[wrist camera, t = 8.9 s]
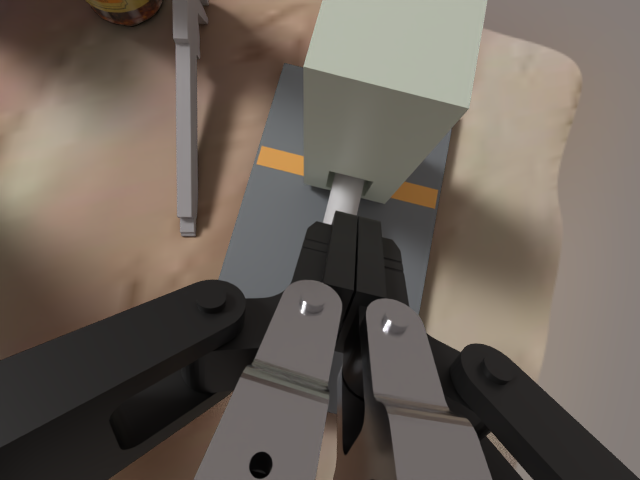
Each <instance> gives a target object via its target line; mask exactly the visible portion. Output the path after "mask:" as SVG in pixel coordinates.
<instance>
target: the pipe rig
mask: <svg viewBox="0 0 640 480" xmlns="http://www.w3.org/2000/svg"><path fill="white" fill-rule="evenodd" d="M451 130H452V128H451ZM451 130H450V131H449V132H448V133H447V134H446V135H445V136H444V137H443V139H442V140H441V141H440V142H439V143H438V144H437V145H436V147H435V148H434V149H433V150H432V151H431V152H430V153H429V154H428V156H427V157H426V158H425V159H424V160H423V161H422V162H421V164H420V165H419V166H418V167H417V168H416V169H415V170H414V171H413V173H412V174H411V175H410V176H409V177H408V178H407V179H406V181H405V182H404V183H403V184H402V185H401V186H400V187H399V188H398V190H397V191H396V192H395V193H394V194H393V195H392V196H391V198H390V199H389V200H388V201H387V202H386V203H385V204H383V203H379V202H375V201H371V200H367V199H363V198H361V194H362V190H363V185H364V181H365V180H364V179H360V178H356V177H352V176H348V175H344V174H340V173H336V172H335V176H334V180H333V184H332V188H331V190H327V189H323V188H319V187H315V186H311V185H307V184H304V96H303V67H299V66H295V65H291V64H287V63H284V65H283V69H282V72H281V75H280V79H279V82H278V85H277V89H276V92H275V95H274V98H273V102H272V105H271V108H270V112H269V115H268V118H267V121H266V125H265V128H264V131H263V135H262V138H261V141H260V144H259V148H258V151H257V154H256V158H255V161H254V164H253V168H252V171H251V174H250V177H249V181H248V184H247V187H246V191H245V194H244V197H243V200H242V204H241V207H240V210H239V214H238V217H237V220H236V224H235V227H234V230H233V233H232V237H231V240H230V243H229V247H228V250H227V253H226V256H225V260H224V263H223V266H222V270H221V273H220V276H219V279H218V280H222V281H226V282H229V283H231V284H234V285H235V286H237V287H238V288H239V289H240V290H241V291H242V292H243V294H244V296H245V298H266V297H271V296H275V295H277V294H279V293H281V292H283V291H284V290H285V289H286V288H287V287H288V286H289V285H290V283H291V281H292V278H293V275H294V271H295V268H296V265H297V261H298V258H299V255H300V251H301V248H302V245H303V241H304V238H305V235H306V231H307V228H308V227H309V226H311V225H312V224H313V223H315V222H316V221H318V222H322V223H326V224H330V225H331V224H332V221H333V217H334V213H335V211H336V210H337V211H341V212H345V213H349V214H353V215H357V218H358V216H361V217H365V218H369V219H373V220H378V221H381V230H382V237H384V238H388V239H392V240H393V241H394V242H395V244H396V245H397V246H398V248H399V249H400V251H401V257H402V264H403V270H404V271H403V273H404V276H405V282H406V288H407V295H408V301H409V307H410V308H411V309H413V310H414V311H415V312H416V313H417V314H418V316H419V311H420V305H421V299H422V294H423V288H424V282H425V277H426V271H427V265H428V260H429V254H430V249H431V243H432V237H433V232H434V226H435V220H436V215H437V209H438V203H439V198H440V192H441V187H442V181H443V175H444V170H445V164H446V158H447V153H448V147H449V142H450V136H451ZM342 365H343V353H340V352H336V351H334V354H333V360H332V365H331V370H330V375H329V381H328V389H329V391H330V395H329V404H328V410H327V412H330V413H334V414H337V379H338V375H339V372H340V370H341V367H342Z"/></svg>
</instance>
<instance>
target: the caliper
mask: <svg viewBox="0 0 640 480" xmlns="http://www.w3.org/2000/svg"><path fill="white" fill-rule="evenodd" d="M172 3H173V39H174V42H175V43H176V147H177V217H178V218H180V232H181V236H196V218H197V207H198V146H197V59H200V34H199V24H208V18H207V16H206V13H205V10H204V8H203V6H202V5H206V6H209V1H208V0H172Z"/></svg>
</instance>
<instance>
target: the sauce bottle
mask: <svg viewBox="0 0 640 480" xmlns="http://www.w3.org/2000/svg"><path fill="white" fill-rule="evenodd" d="M85 1H86V2H88V3H89V4H90V5H91V7H92V9H93V10H94V11H95V12H96V13H97V14H98V15H99V16H100V17H101V18H103V19H105V20H107V21H109V22H112V23H116V24H122V25H125V26H134V25H138V24H139V23H141V22H143V21H145V20H147V19H149V18H151V17H152V16H153V15H154V14H155V13H156V12H157V11H158V10H159V8H160V7H161V3H162V1H163V0H85Z"/></svg>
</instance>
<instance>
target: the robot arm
mask: <svg viewBox="0 0 640 480" xmlns="http://www.w3.org/2000/svg"><path fill="white" fill-rule="evenodd" d="M403 271H404V270H403V264H402V257H401V251H400V249H399V248H398V246H397V245H396V244H395V242H394V241H393V240H392V239H388V238H384V237H382V230H381V221H378V220H373V219H369V218H365V217H361V216H358V218H357V215H353V214H349V213H345V212H341V211H337V210H336V211H335V213H334V217H333V221H332V224H331V225H330V224H326V223H322V222H318V221H316V222H315V223H313V224H312V225H311V226H309V227H308V228H307V231H306V235H305V238H304V241H303V245H302V248H301V251H300V255H299V258H298V261H297V265H296V268H295V271H294V275H293V278H292V281H291V283H290V285H289V286H288V287H287V288H286V289H285V290H284V291H283V292H281V293H279V294H277V295H275V296H271V297H266V298H245V296H244V294H243V292H242V291H241V290H240V289H239V288H238V287H237V286H235V285H234V284H231V283H229V282H226V281H222V280H205V281H200V282H197V283H194V284H192V285H189V286H187V287H184V288H182V289H179V290H176V291H174V292H171V293H169V294H166V295H164V296H161V297H159V298H156V299H154V300H151V301H149V302H146V303H144V304H141V305H139V306H136V307H134V308H131V309H129V310H126V311H124V312H121V313H119V314H116V315H114V316H111V317H109V318H106V319H103V320H101V321H98V322H96V323H93V324H91V325H88V326H86V327H83V328H81V329H78V330H76V331H73V332H71V333H68V334H66V335H63V336H61V337H58V338H56V339H53V340H51V341H48V342H46V343H43V344H41V345H38V346H36V347H33V348H30V349H28V350H25V351H23V352H20V353H18V354H15V355H13V356H10V357H8V358H5V359H3V360H0V480H108V479H109V478H111V477H112V476H114V475H115V474H117V473H118V472H119V471H121V470H122V469H124V468H125V467H127V466H128V465H129V464H131V463H132V462H134V461H135V460H137V459H138V458H139V457H141V456H142V455H144V454H145V453H147V452H148V451H150V450H151V449H152V448H154V447H155V446H157V445H158V444H160V443H161V442H162V441H164V440H165V439H167V438H168V437H170V436H171V435H172V434H174V433H175V432H177V431H178V430H180V429H181V428H182V427H184V426H185V425H187V424H188V423H190V422H191V421H192V420H194V419H195V418H197V417H198V416H200V415H201V414H203V413H204V412H205V411H207V410H208V409H210V408H211V407H213V406H214V405H215V404H217V403H218V402H220V401H221V400H223V399H224V398H225V397H227V396H228V395H229V394H230V393H231V392H232V391H234V392H233V394H232V396H231V398H230V401H229V403H228V405H227V407H226V409H225V412H224V414H223V416H222V418H221V420H220V423H219V425H218V427H217V429H216V431H215V434H214V436H213V438H212V440H211V442H210V445H209V447H208V449H207V451H206V453H205V456H204V458H203V460H202V462H201V464H200V467H199V469H198V471H197V473H196V475H195V478H194V480H315V478H316V472H317V466H318V461H319V455H320V450H321V444H322V438H323V433H324V427H325V421H326V416H327V410H328V404H329V395H330V391H329V389H328V381H329V375H330V370H331V365H332V360H333V354H334V351H336V352H340V353H343V365H342V367H341V370H340V372H339V375H338V379H337V460H336V468H335V473H334V477H333V480H523V479H522V478H521V477H520V475H519V474H518V473H517V472H516V471H515V469H514V468H513V467H512V466H511V465H510V464H509V462H508V461H507V460H506V459H505V458H504V457H503V455H502V454H501V453H500V452H499V451H498V450H497V448H496V447H495V446H494V445H493V444H492V442H491V441H490V440H489V439H488V438H487V437H486V436H487V435H488V434H489V433H490V432H492V433H493V434H494V435H495V436H496V438H497V439H498V440H499V441H500V442H501V443H502V444H503V446H504V447H505V448H506V449H507V450H508V451H509V452H510V454H511V455H512V456H513V457H514V458H515V459H516V460H517V462H518V463H519V464H520V465H521V466H522V467H523V468H524V469H525V470H526V472H527V473H528V474H529V475H530V476H531V477H532V479H534V480H640V479H639V478H638V477H637V476H636V475H635V474H634V473H633V472H631V471H630V470H629V469H628V468H627V467H626V466H625V465H624V464H623V463H622V462H621V461H620V460H619V459H617V458H616V457H615V456H614V455H613V454H612V453H611V452H610V451H609V450H608V449H607V448H605V447H604V446H603V445H602V444H601V443H600V442H599V441H598V440H597V439H596V438H595V437H594V436H593V435H592V434H590V433H589V432H588V431H587V430H586V429H585V428H584V427H583V426H582V425H581V424H580V423H579V422H577V421H576V420H575V419H574V418H573V417H572V416H571V415H570V414H569V413H568V412H567V411H566V410H564V409H563V408H562V407H561V406H560V405H559V404H558V403H557V402H556V401H555V400H554V399H553V398H552V397H550V396H549V395H548V394H547V393H546V392H545V391H544V390H543V389H542V388H541V387H540V386H539V385H538V384H536V383H535V382H534V381H533V380H532V379H531V378H530V377H529V376H528V375H527V374H526V373H525V372H523V371H522V370H521V369H520V368H519V367H518V366H517V365H516V364H515V363H514V362H513V361H512V360H510V359H509V358H508V357H507V356H506V355H504V354H503V353H501V352H500V351H498V350H496V349H494V348H492V347H490V346H487V345H484V344H470V345H467V346H466V347H465V348H464V349H463V350H462V351H461V352H459V351H457V350H455V349H453V348H451V347H449V346H448V345H446V344H444V343H442V342H440V341H438V340H436V339H434V338H433V337H431V336H430V335H428V334H427V333H426V330H425V327H424V324H423V322H422V320H421V318H420V317H419V316H418V314H417V313H416V312H415V311H414V310H413V309H411V308H410V307H409V301H408V295H407V288H406V282H405V276H404V273H403Z"/></svg>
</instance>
